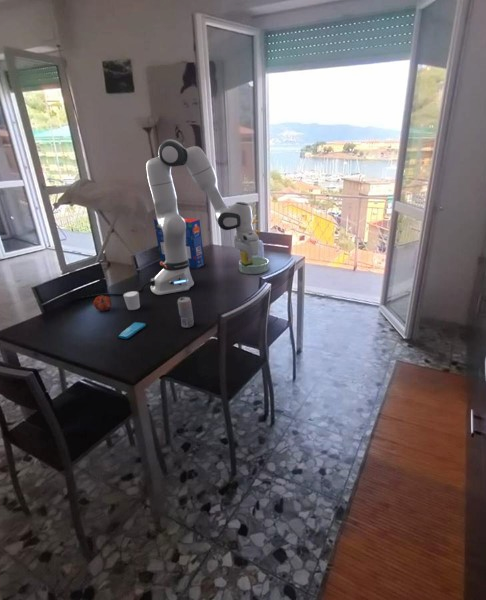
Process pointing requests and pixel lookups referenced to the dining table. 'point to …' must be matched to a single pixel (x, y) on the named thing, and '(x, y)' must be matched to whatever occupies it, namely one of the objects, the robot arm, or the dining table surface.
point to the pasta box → (192, 242)
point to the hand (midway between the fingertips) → (246, 259)
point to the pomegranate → (102, 303)
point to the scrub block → (245, 259)
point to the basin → (255, 266)
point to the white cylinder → (132, 300)
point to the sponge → (131, 330)
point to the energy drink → (185, 312)
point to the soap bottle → (261, 245)
